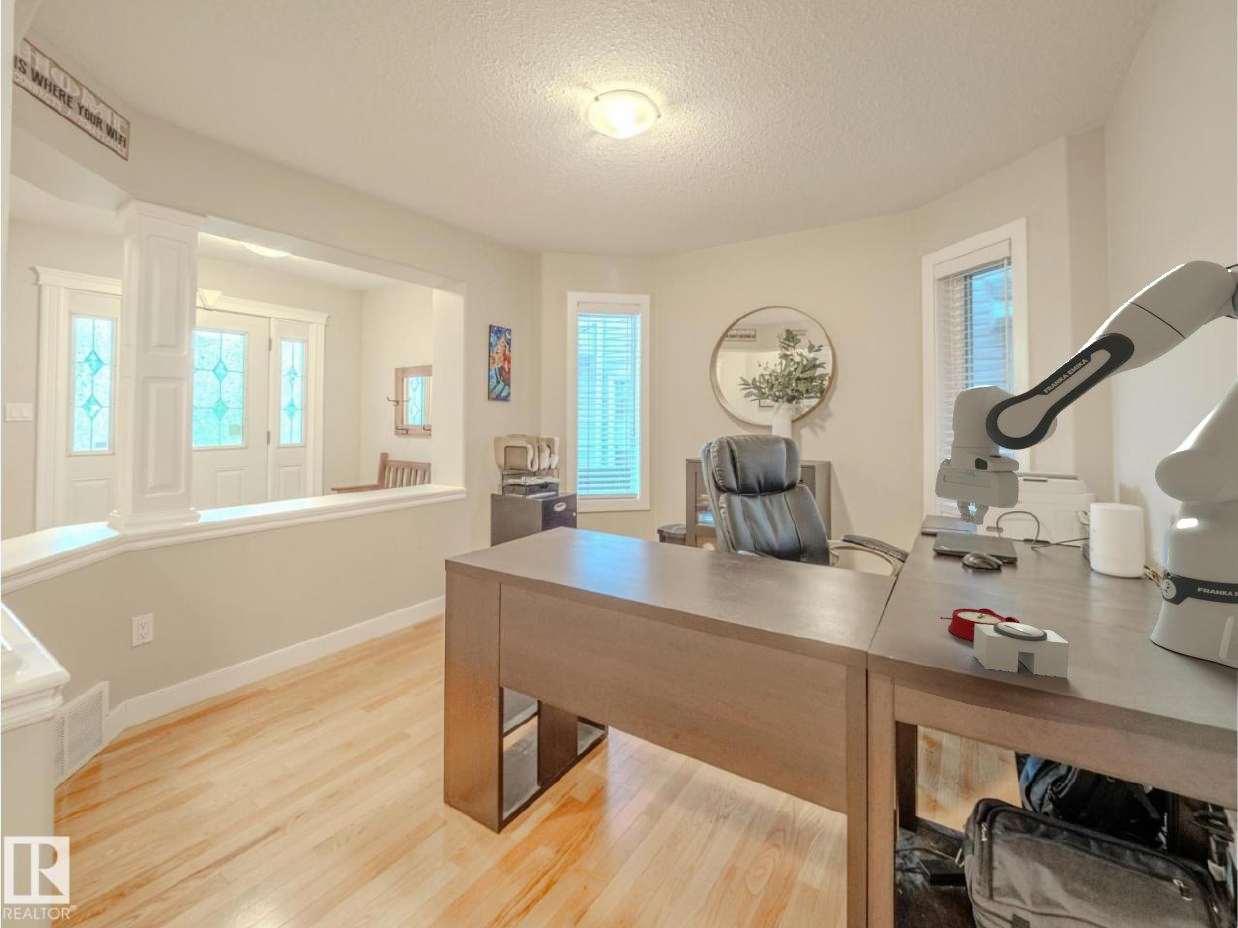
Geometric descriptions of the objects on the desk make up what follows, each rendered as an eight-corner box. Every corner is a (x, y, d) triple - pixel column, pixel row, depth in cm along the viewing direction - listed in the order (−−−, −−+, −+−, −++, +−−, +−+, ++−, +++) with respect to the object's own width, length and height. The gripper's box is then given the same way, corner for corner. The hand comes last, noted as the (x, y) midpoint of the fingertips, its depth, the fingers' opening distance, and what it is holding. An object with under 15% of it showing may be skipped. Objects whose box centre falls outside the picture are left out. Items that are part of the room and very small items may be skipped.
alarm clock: (932, 612, 114) (986, 590, 118) (936, 640, 115) (990, 617, 119) (978, 630, 104) (1035, 605, 108) (982, 660, 105) (1039, 635, 109)
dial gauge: (1047, 661, 98) (1049, 624, 98) (1069, 679, 91) (1071, 640, 90) (971, 653, 101) (973, 617, 101) (987, 670, 94) (988, 632, 94)
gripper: (929, 458, 129) (927, 515, 130) (997, 463, 109) (994, 531, 110) (953, 458, 130) (951, 515, 131) (1026, 463, 110) (1023, 531, 110)
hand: (971, 523), depth 120 cm, fingers closed
